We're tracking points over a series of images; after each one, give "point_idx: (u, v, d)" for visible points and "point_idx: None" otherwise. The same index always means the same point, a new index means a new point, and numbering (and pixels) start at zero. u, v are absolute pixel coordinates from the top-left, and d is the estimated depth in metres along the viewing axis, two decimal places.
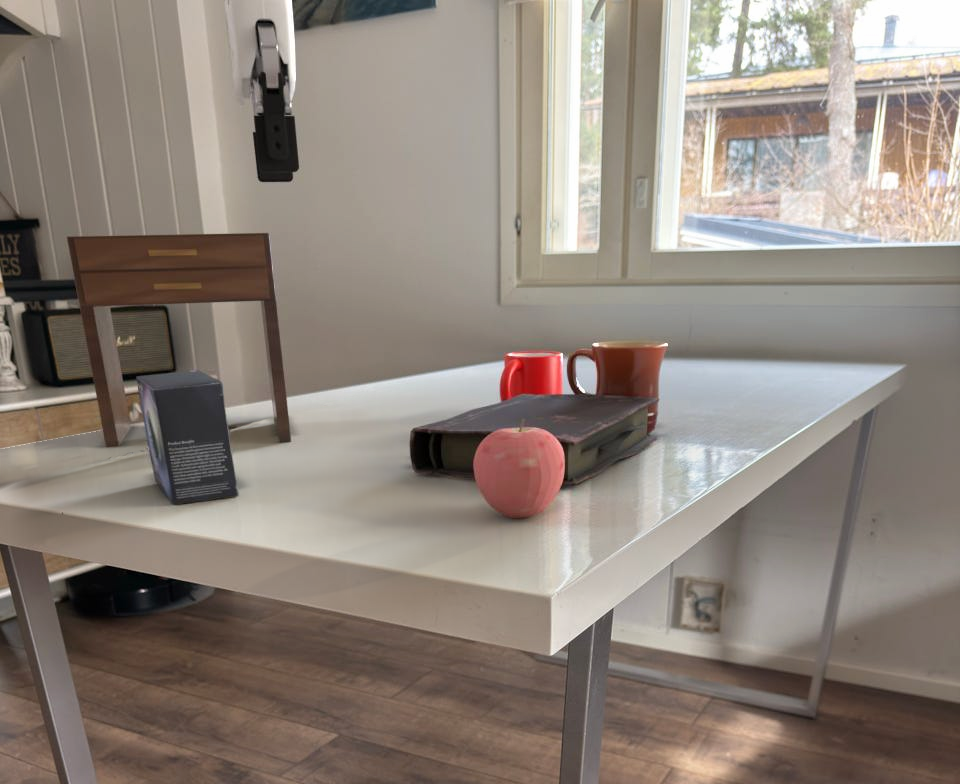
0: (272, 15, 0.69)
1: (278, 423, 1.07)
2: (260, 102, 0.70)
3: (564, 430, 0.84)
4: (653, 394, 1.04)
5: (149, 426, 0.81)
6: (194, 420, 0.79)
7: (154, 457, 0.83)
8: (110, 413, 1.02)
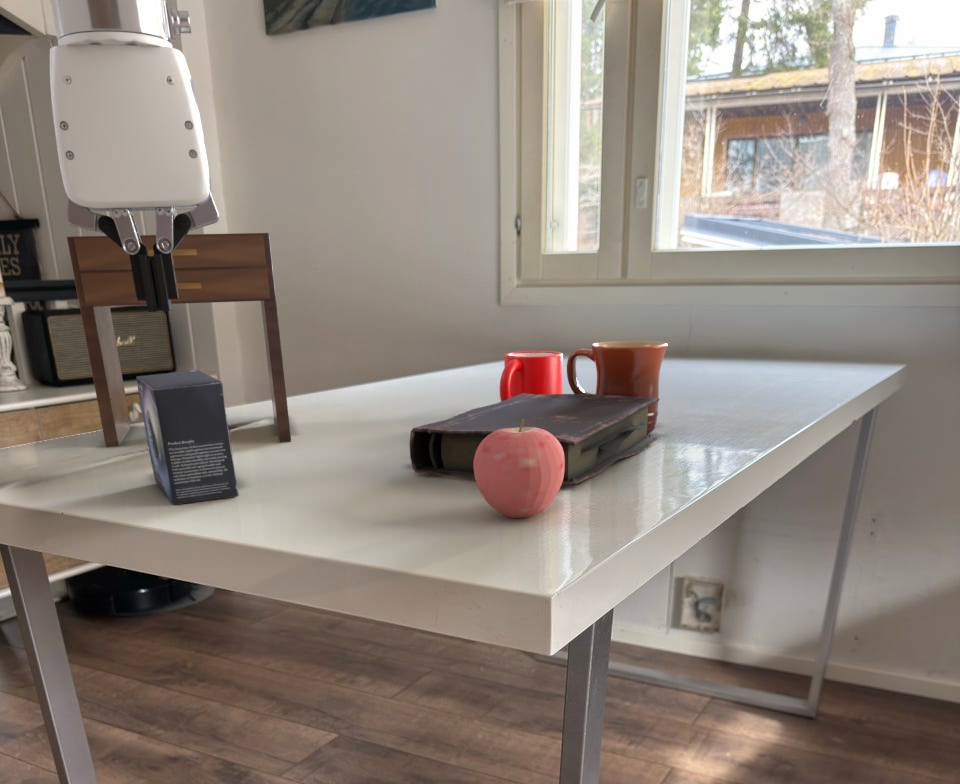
0: None
1: (278, 423, 1.07)
2: None
3: (564, 430, 0.84)
4: (653, 394, 1.04)
5: (149, 426, 0.81)
6: (194, 420, 0.79)
7: (154, 457, 0.83)
8: (110, 413, 1.02)
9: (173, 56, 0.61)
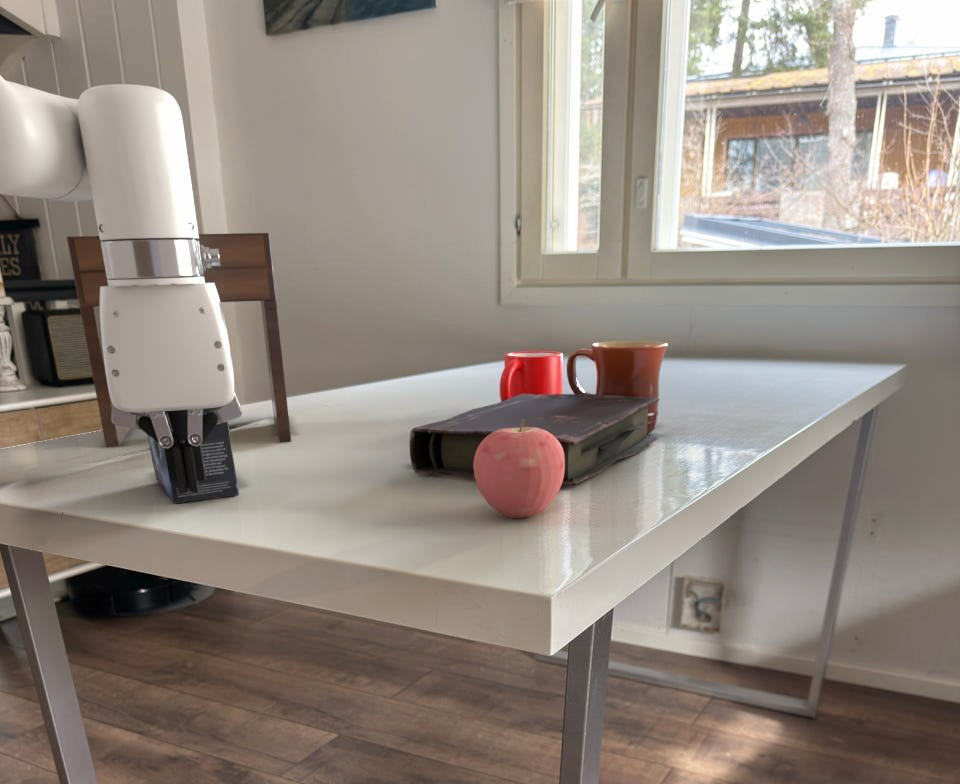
0: None
1: (278, 423, 1.07)
2: None
3: (564, 430, 0.84)
4: (653, 394, 1.04)
5: None
6: None
7: (155, 456, 0.83)
8: (110, 413, 1.02)
9: (205, 290, 0.72)
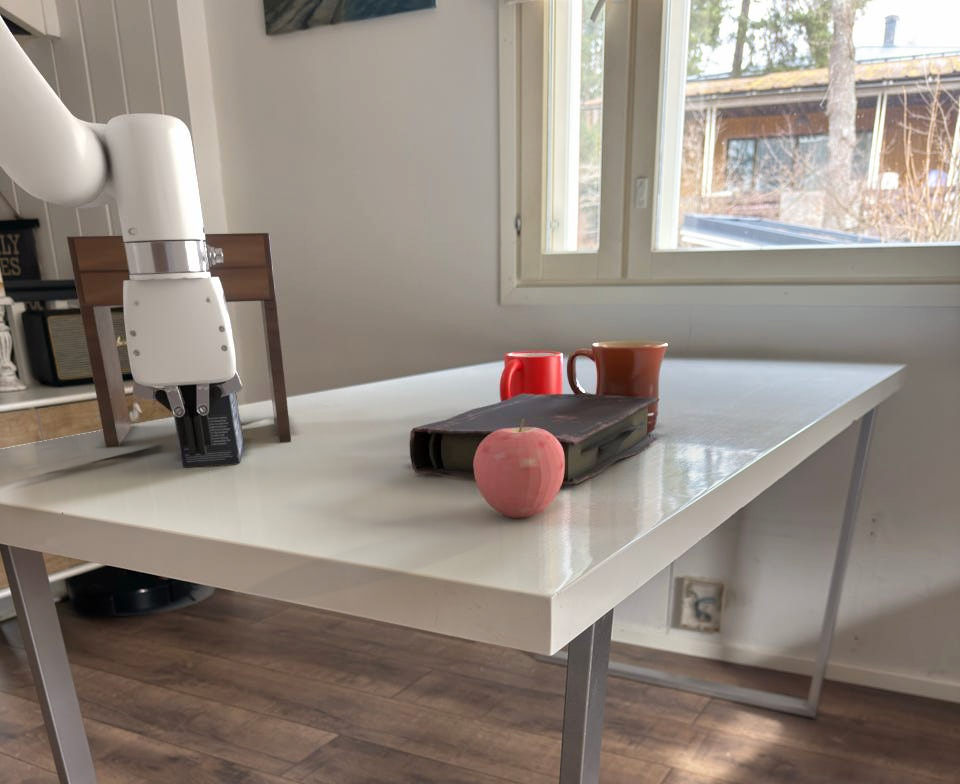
0: None
1: (278, 423, 1.07)
2: None
3: (564, 430, 0.84)
4: (653, 394, 1.04)
5: None
6: None
7: None
8: (110, 413, 1.02)
9: (211, 283, 0.86)
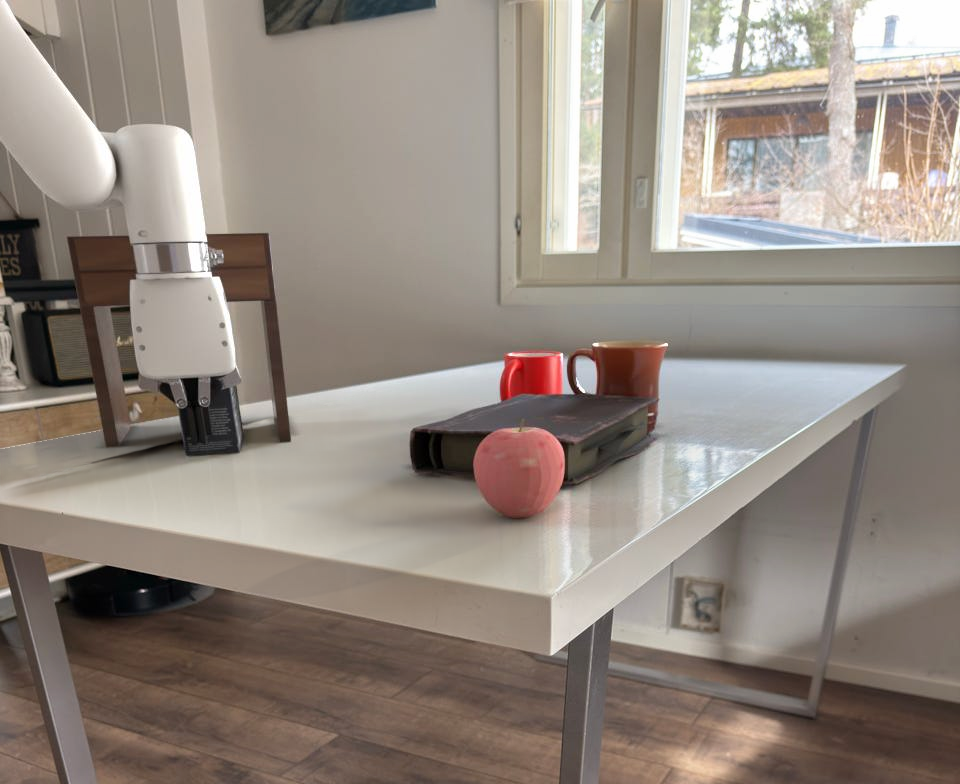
0: (132, 331, 0.93)
1: (278, 423, 1.07)
2: None
3: (564, 430, 0.84)
4: (653, 394, 1.04)
5: None
6: None
7: None
8: (110, 413, 1.02)
9: (212, 282, 0.92)
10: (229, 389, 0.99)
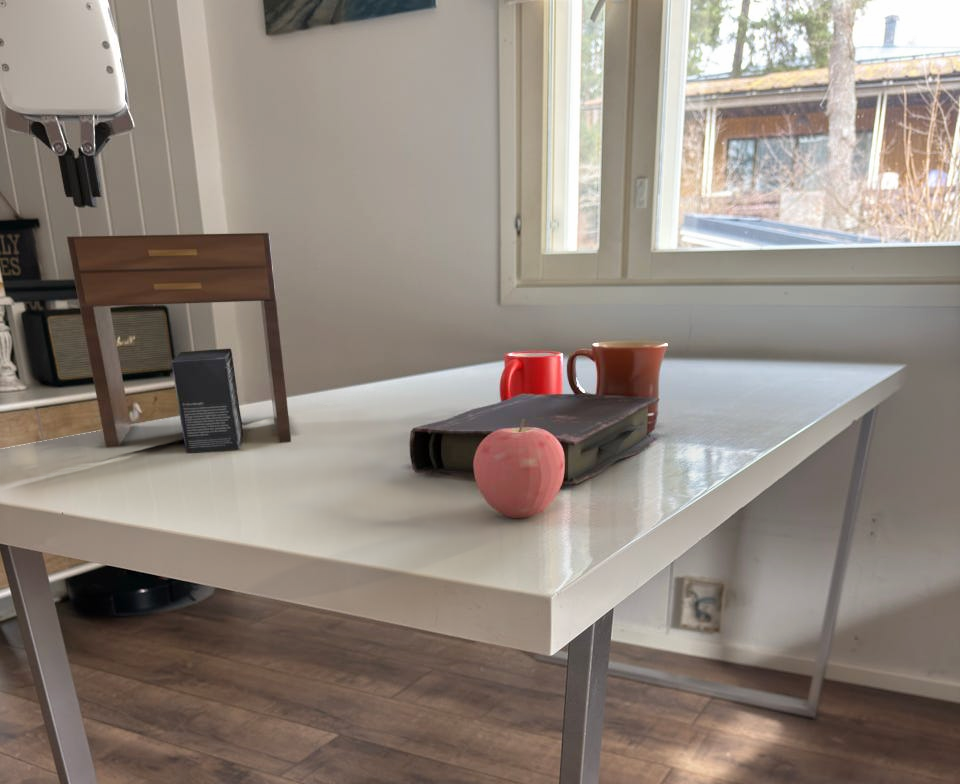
0: None
1: (278, 423, 1.07)
2: None
3: (564, 430, 0.84)
4: (653, 394, 1.04)
5: None
6: (203, 387, 1.00)
7: None
8: (110, 413, 1.02)
9: None
10: (229, 387, 1.01)
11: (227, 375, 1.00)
